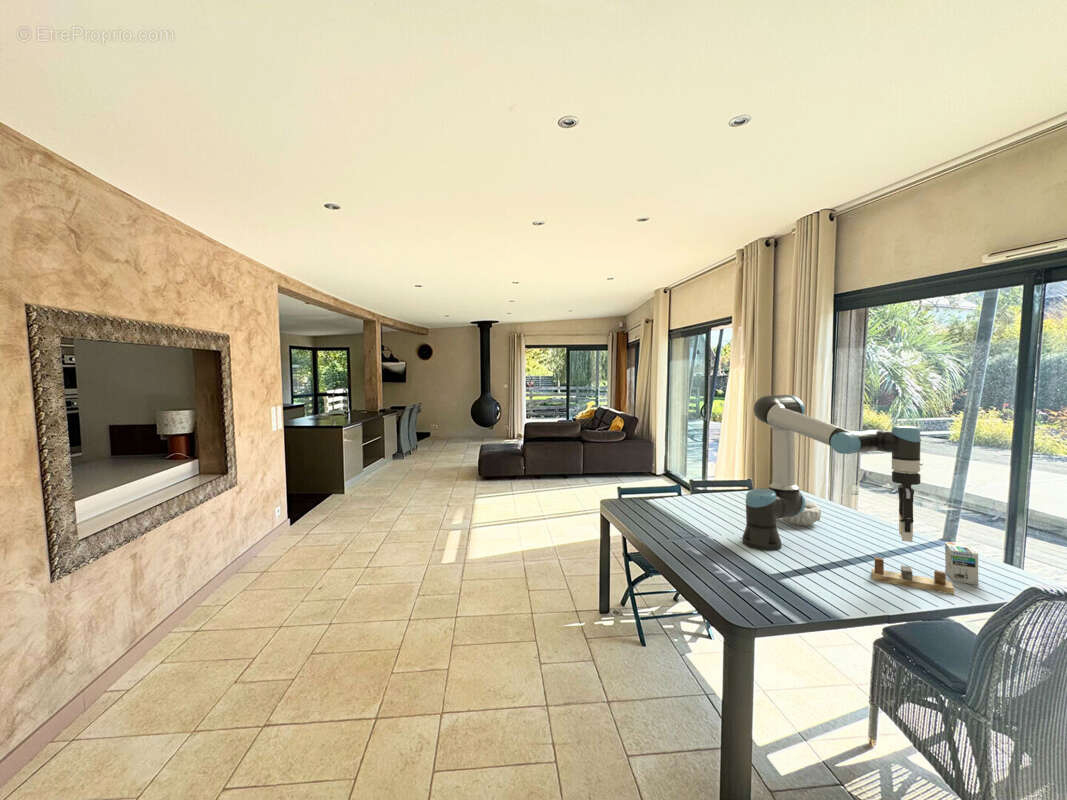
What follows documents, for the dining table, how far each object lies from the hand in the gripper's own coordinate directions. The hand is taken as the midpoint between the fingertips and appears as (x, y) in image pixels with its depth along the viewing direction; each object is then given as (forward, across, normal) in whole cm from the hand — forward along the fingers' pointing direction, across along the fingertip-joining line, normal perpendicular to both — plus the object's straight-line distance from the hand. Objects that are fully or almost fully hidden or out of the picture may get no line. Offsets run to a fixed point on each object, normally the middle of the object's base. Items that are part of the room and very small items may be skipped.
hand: (905, 537), depth 152 cm
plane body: (+16, 0, -1) cm, 16 cm away
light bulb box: (+16, +15, -16) cm, 27 cm away
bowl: (+16, +58, +36) cm, 70 cm away
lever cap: (-1, 0, 0) cm, 1 cm away
